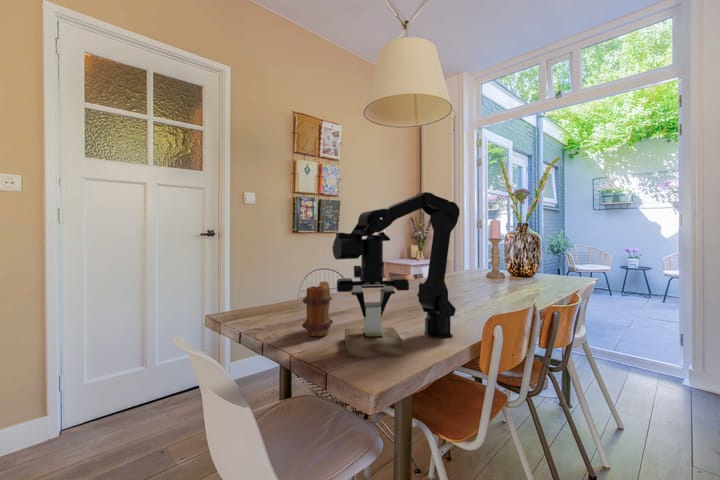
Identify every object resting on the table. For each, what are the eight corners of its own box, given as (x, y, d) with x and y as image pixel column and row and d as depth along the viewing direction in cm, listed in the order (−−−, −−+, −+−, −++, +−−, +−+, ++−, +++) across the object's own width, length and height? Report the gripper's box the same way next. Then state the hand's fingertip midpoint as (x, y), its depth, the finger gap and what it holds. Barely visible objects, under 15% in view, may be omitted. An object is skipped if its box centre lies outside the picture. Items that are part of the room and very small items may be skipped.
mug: (325, 340, 92) (325, 287, 92) (298, 338, 94) (298, 286, 94) (339, 326, 107) (339, 280, 107) (315, 325, 108) (315, 279, 108)
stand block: (392, 337, 95) (392, 325, 95) (404, 354, 81) (404, 340, 81) (344, 339, 93) (344, 327, 93) (348, 357, 79) (348, 343, 79)
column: (378, 331, 89) (378, 301, 89) (381, 335, 85) (381, 305, 85) (364, 331, 89) (363, 302, 89) (365, 336, 85) (365, 305, 85)
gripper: (399, 255, 96) (399, 309, 96) (335, 256, 94) (336, 310, 94) (409, 258, 85) (409, 318, 85) (337, 259, 83) (337, 320, 83)
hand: (372, 316), depth 87 cm, fingers closed on column, 4 cm apart
